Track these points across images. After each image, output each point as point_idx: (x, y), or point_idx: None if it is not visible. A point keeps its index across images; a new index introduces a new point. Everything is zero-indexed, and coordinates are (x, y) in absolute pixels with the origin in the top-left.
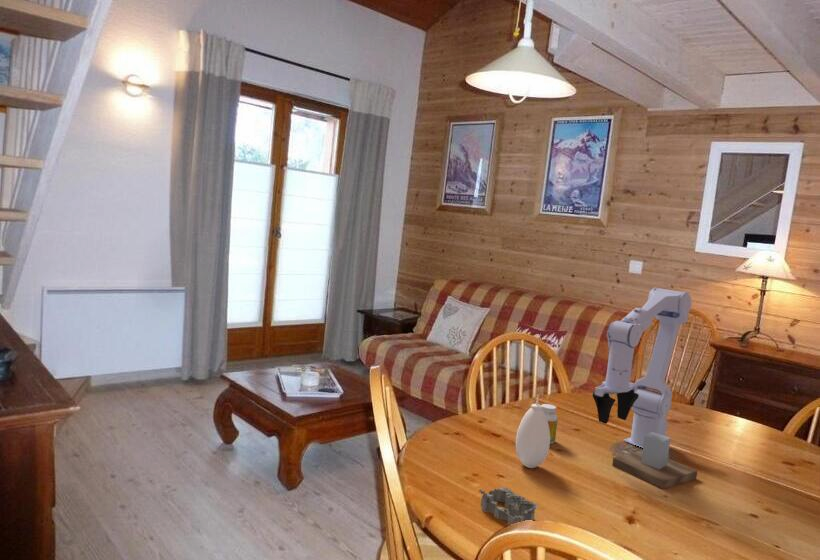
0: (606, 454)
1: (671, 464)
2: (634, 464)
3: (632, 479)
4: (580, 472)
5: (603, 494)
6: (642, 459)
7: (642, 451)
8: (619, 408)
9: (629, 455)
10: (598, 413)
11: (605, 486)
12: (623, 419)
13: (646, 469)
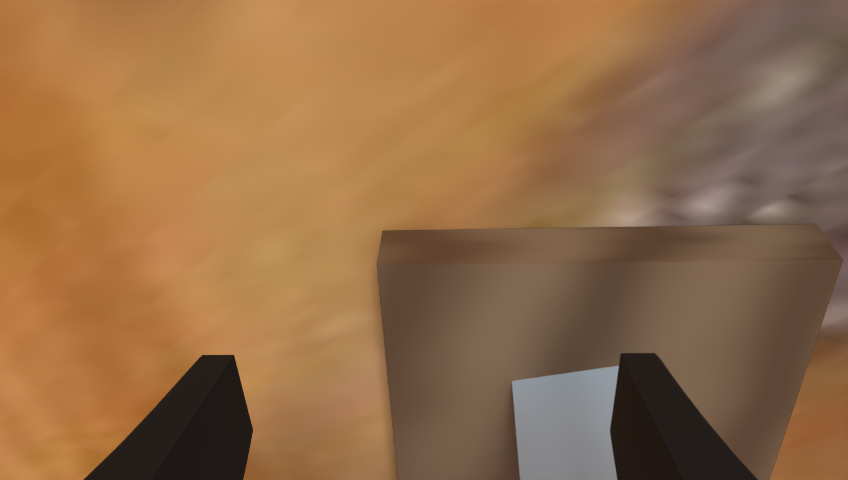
0: (535, 67)
1: None
2: (436, 381)
3: (340, 390)
4: (46, 222)
5: (22, 429)
6: (515, 407)
7: (518, 448)
8: (660, 468)
9: (558, 282)
10: (142, 431)
11: (96, 386)
12: (612, 424)
13: (444, 444)
